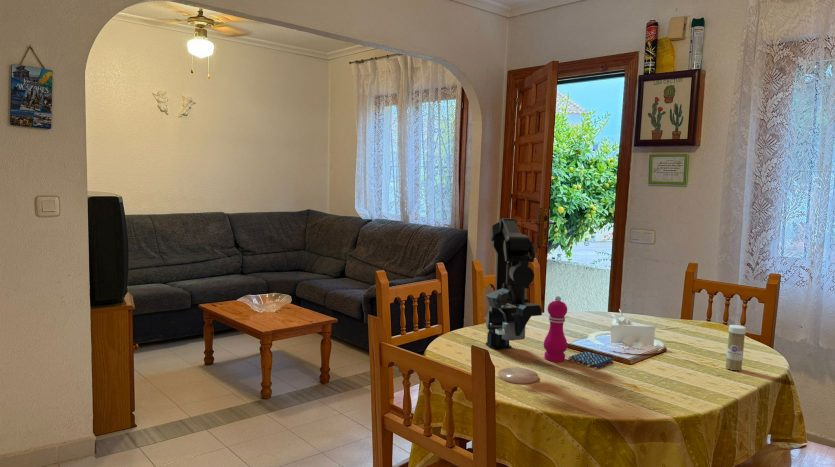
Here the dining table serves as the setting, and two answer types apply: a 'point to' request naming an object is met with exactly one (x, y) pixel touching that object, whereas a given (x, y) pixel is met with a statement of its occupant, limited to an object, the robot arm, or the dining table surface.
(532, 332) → the dining table surface
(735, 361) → the sprinkles bottle
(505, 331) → the charcoal plug
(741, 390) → the dining table surface
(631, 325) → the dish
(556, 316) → the pepper mill
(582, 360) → the woven mat
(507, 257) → the robot arm
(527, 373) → the terracotta coaster
